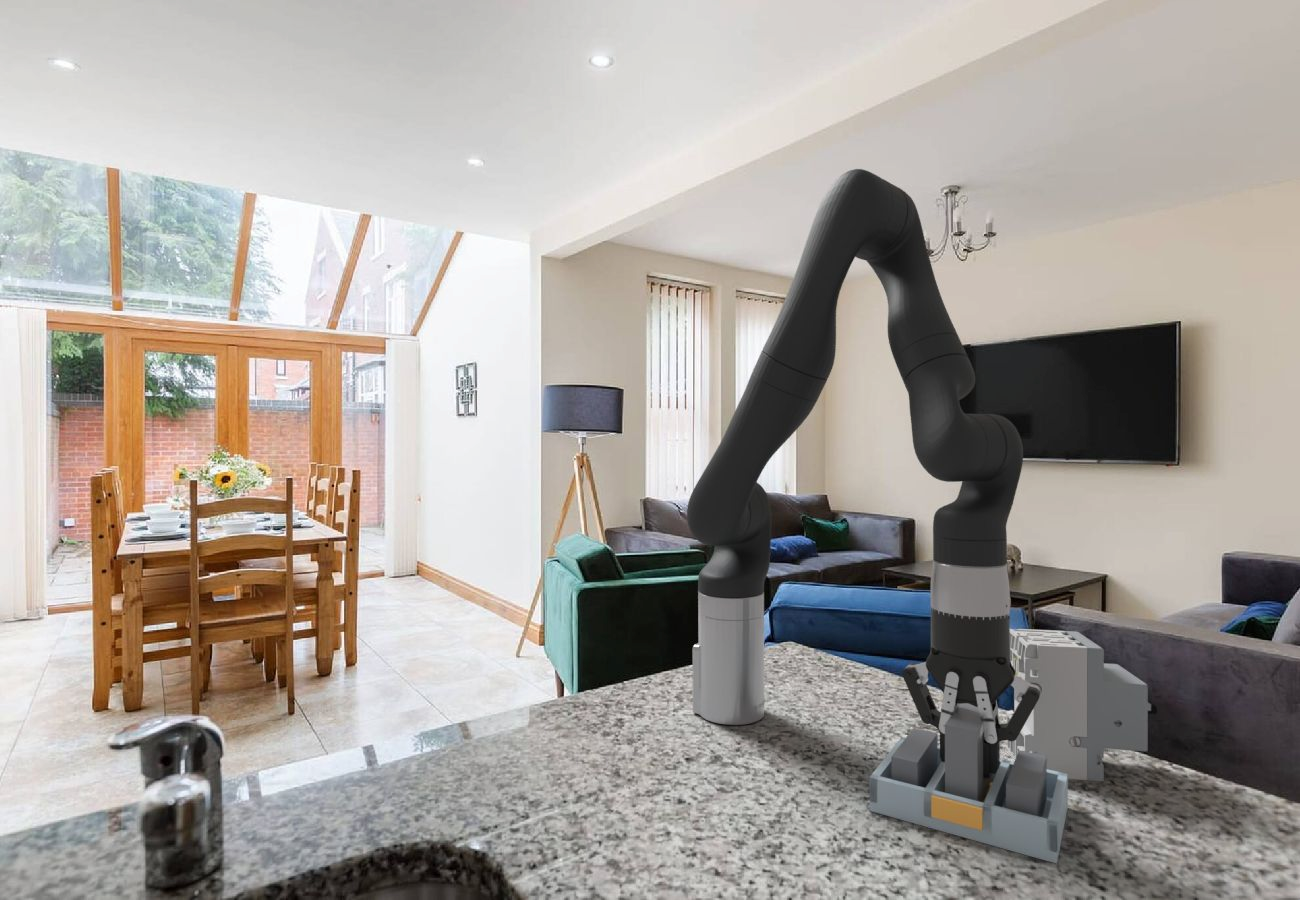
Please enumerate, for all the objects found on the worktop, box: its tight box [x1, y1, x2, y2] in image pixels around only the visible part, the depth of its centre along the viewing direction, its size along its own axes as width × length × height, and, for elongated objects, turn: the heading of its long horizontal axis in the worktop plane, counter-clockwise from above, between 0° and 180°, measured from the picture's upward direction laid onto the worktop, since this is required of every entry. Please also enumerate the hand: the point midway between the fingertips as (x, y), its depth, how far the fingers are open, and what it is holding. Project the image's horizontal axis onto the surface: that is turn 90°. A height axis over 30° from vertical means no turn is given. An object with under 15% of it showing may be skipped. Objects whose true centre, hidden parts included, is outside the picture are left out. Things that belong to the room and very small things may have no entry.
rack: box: [868, 727, 1069, 865], centre depth 75 cm, size 17×12×6 cm
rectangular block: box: [945, 703, 993, 802], centre depth 75 cm, size 3×9×8 cm, turn 146°
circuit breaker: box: [1005, 628, 1158, 782], centre depth 85 cm, size 8×14×15 cm, turn 78°
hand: (969, 770), depth 75 cm, fingers closed on rectangular block, 3 cm apart
